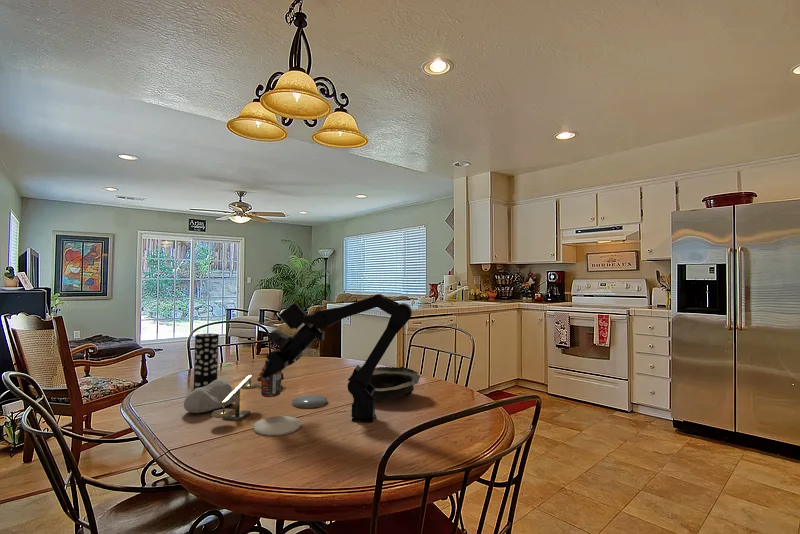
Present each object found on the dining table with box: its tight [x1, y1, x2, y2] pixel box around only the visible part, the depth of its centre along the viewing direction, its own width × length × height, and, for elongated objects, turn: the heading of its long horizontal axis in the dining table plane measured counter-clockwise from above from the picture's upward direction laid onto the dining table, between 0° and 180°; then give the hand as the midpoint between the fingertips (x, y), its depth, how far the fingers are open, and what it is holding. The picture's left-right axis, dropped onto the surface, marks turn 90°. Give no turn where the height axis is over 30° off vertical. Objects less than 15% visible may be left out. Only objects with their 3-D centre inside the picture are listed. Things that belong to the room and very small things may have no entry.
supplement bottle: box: [260, 358, 282, 398], centre depth 132 cm, size 6×6×11 cm
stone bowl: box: [369, 366, 421, 402], centre depth 154 cm, size 25×25×9 cm
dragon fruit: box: [256, 371, 285, 383], centre depth 166 cm, size 8×8×12 cm
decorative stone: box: [183, 378, 235, 414], centre depth 136 cm, size 17×10×10 cm
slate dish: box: [291, 394, 328, 409], centre depth 145 cm, size 12×12×1 cm
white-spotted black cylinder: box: [193, 333, 219, 389], centre depth 163 cm, size 8×8×20 cm
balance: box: [211, 374, 261, 422], centre depth 129 cm, size 6×22×11 cm, turn 172°
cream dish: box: [253, 415, 302, 437], centre depth 121 cm, size 13×13×1 cm
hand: (267, 374), depth 132 cm, fingers closed on supplement bottle, 6 cm apart
